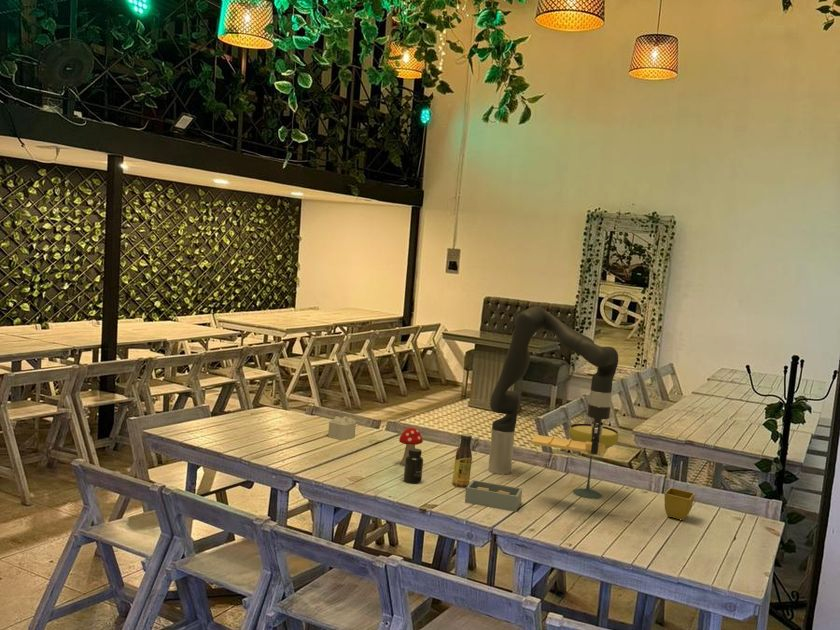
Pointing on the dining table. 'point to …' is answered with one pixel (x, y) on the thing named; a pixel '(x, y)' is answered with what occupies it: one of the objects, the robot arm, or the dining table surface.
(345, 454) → the dining table surface
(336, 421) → the grey studded block
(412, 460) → the supplement bottle
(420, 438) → the decorative mushroom
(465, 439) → the sauce bottle
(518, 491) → the tub
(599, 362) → the robot arm
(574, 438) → the cocktail glass
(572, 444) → the lid
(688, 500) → the flower pot
